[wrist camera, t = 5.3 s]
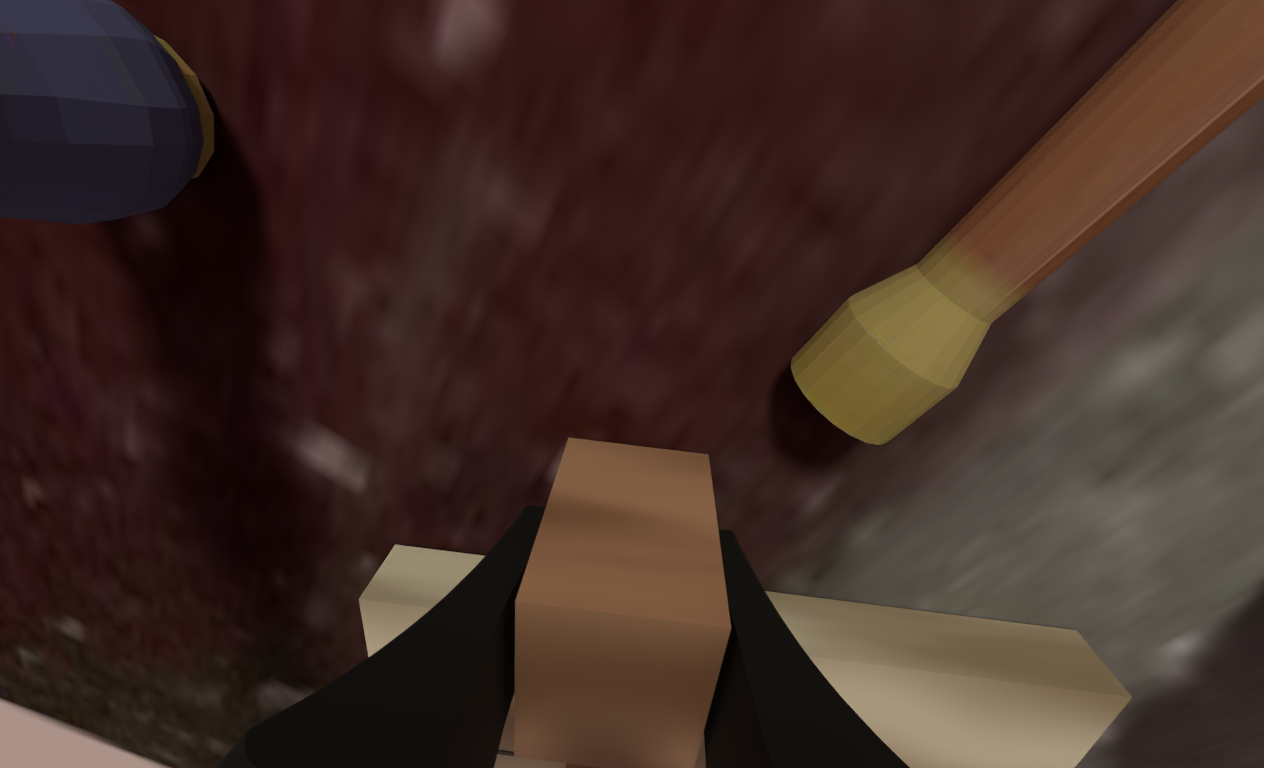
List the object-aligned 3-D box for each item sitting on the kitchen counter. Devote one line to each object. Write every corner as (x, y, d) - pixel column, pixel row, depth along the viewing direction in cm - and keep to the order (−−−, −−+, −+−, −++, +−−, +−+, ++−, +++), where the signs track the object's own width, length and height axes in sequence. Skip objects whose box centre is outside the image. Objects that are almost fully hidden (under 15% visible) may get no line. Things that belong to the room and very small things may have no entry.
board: (949, 815, 19) (978, 886, 18) (419, 746, 20) (394, 809, 18) (1077, 630, 15) (1133, 698, 13) (395, 544, 15) (358, 600, 13)
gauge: (654, 726, 18) (650, 931, 13) (552, 713, 18) (512, 914, 14) (708, 454, 13) (731, 628, 9) (568, 437, 13) (514, 601, 9)
